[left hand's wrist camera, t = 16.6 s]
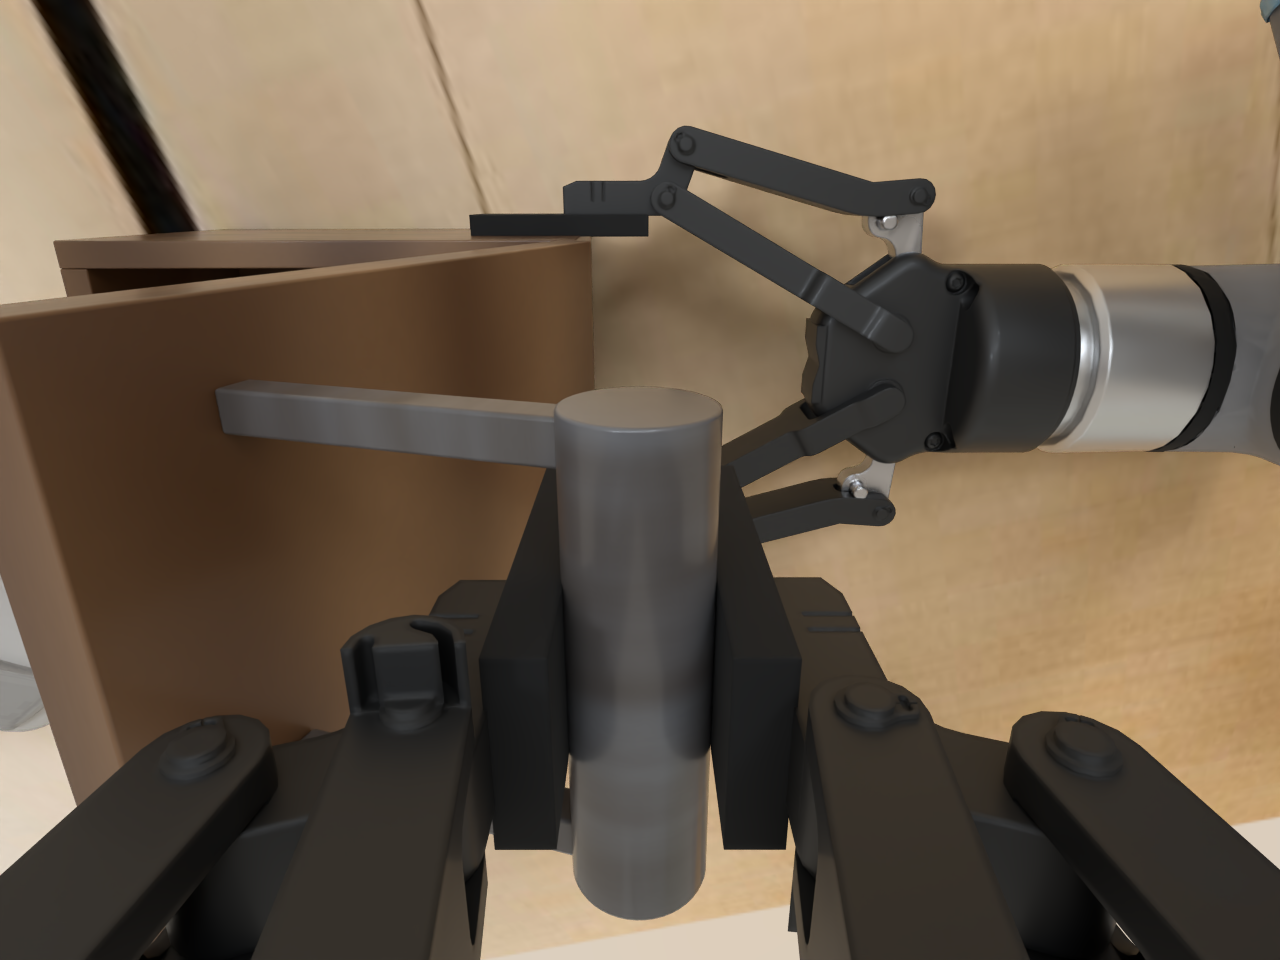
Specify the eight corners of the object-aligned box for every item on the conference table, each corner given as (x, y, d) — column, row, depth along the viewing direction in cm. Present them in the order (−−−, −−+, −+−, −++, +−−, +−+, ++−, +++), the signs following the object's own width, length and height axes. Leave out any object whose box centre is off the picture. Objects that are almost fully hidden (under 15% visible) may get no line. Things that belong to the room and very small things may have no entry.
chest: (259, 431, 38) (123, 516, 28) (222, 229, 35) (51, 240, 25) (595, 429, 38) (583, 513, 28) (590, 228, 35) (575, 239, 25)
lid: (123, 951, 12) (648, 1143, 9) (-89, 314, 8) (650, 359, 6) (567, 518, 28) (802, 548, 25) (556, 240, 24) (826, 244, 22)
